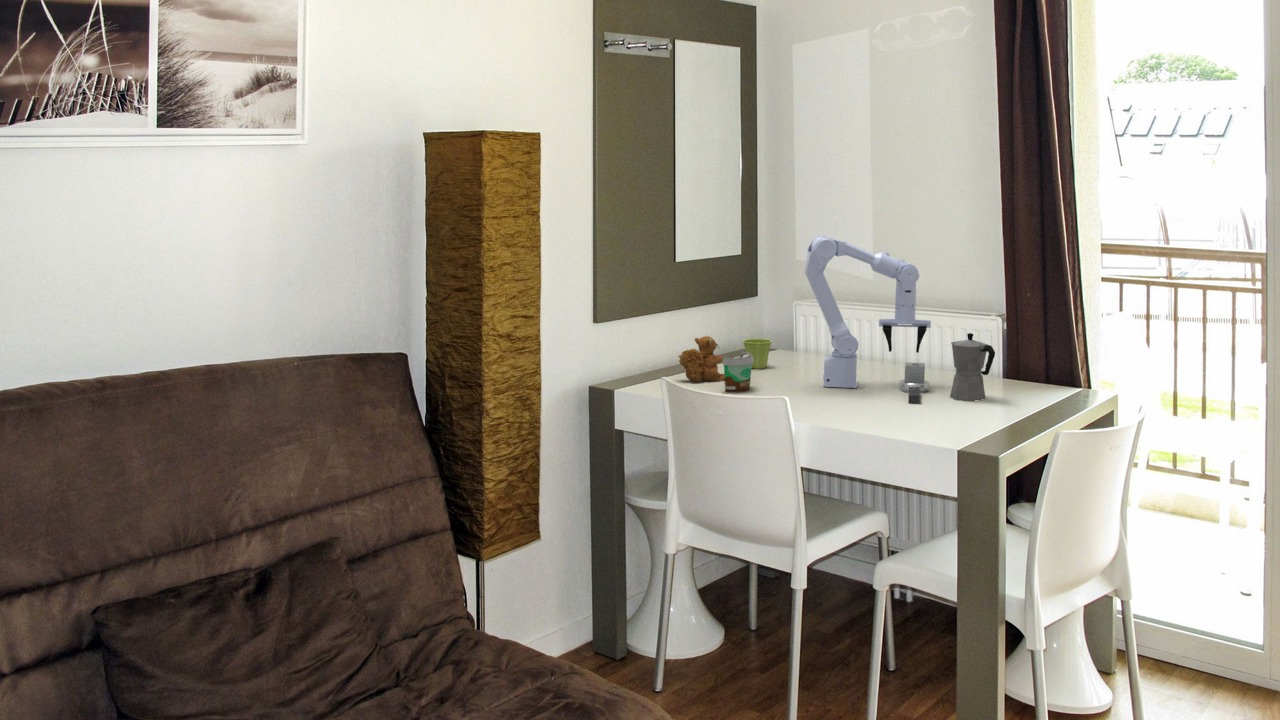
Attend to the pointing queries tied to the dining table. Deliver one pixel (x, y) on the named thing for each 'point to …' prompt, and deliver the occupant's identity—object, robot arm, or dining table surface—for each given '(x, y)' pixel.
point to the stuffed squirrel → (702, 361)
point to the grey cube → (914, 373)
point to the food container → (738, 372)
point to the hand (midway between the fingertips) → (903, 351)
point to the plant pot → (758, 351)
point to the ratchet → (914, 390)
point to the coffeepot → (970, 368)
